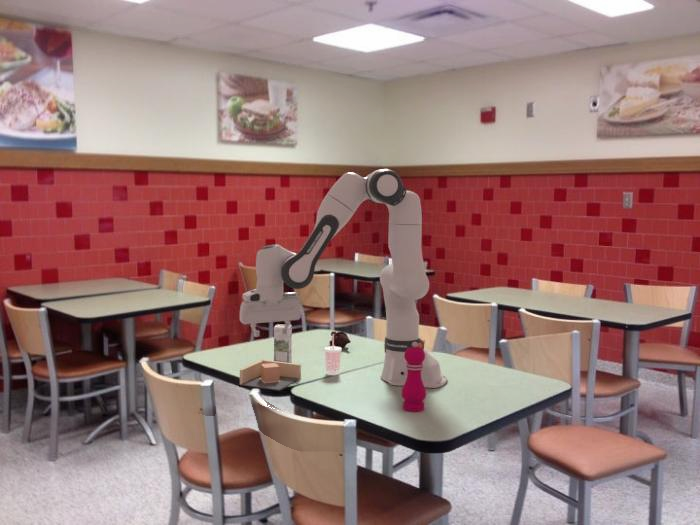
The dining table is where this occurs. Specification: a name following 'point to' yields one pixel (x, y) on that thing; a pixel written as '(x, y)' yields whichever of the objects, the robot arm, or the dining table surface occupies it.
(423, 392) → the pepper mill
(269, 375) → the cube
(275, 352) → the syrup box
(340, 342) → the brown gnome figurine
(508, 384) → the dining table surface
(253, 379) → the arena
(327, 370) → the beverage cup
